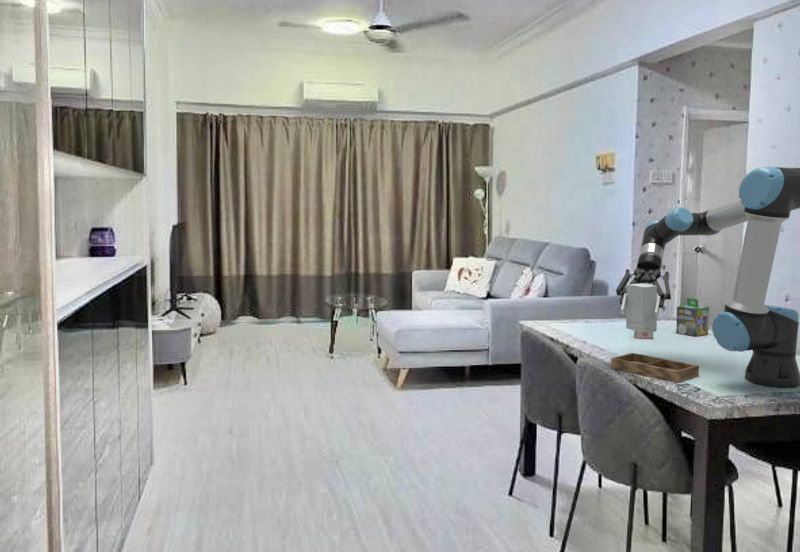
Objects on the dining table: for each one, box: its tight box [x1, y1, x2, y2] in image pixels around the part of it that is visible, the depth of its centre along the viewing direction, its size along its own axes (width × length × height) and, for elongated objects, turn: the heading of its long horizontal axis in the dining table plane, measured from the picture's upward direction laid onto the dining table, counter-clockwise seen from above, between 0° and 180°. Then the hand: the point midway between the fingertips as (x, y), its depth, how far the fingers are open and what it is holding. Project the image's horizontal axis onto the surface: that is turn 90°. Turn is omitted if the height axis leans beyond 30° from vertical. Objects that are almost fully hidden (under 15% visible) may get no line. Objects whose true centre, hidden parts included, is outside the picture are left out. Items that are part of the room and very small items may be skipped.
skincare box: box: [625, 283, 658, 333], centre depth 228 cm, size 8×6×15 cm
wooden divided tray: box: [610, 352, 700, 383], centre depth 226 cm, size 23×13×3 cm, turn 41°
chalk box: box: [675, 297, 710, 337], centre depth 289 cm, size 9×9×15 cm
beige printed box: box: [633, 330, 654, 340], centre depth 280 cm, size 4×7×10 cm, turn 81°
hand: (639, 313), depth 225 cm, fingers closed on skincare box, 10 cm apart
